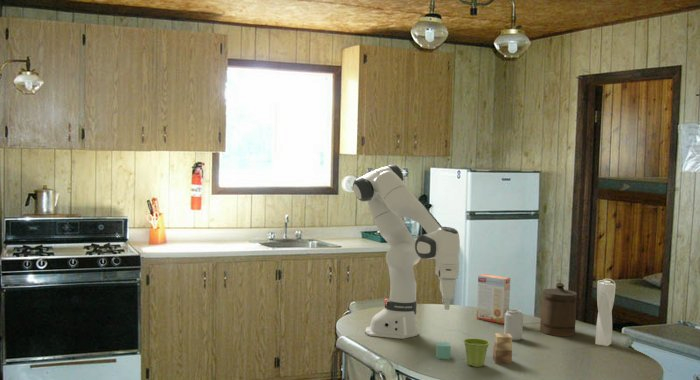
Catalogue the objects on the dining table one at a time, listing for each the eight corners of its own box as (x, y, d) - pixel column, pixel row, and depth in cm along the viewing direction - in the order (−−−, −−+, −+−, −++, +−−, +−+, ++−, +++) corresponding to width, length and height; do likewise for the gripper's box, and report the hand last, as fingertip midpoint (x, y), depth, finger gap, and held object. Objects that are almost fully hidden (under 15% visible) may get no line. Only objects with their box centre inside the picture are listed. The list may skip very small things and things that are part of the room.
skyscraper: (610, 347, 301) (613, 279, 299) (591, 344, 305) (595, 277, 303) (614, 343, 308) (618, 277, 306) (596, 340, 312) (600, 275, 310)
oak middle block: (496, 350, 273) (497, 336, 272) (494, 346, 278) (495, 333, 278) (511, 350, 272) (512, 337, 272) (509, 346, 278) (509, 333, 277)
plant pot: (459, 360, 274) (460, 337, 274) (484, 361, 275) (485, 338, 275) (465, 368, 265) (467, 344, 264) (491, 368, 266) (492, 345, 265)
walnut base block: (495, 363, 273) (495, 350, 272) (492, 358, 279) (493, 345, 278) (511, 364, 272) (512, 350, 272) (508, 359, 278) (509, 346, 278)
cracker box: (509, 322, 340) (511, 277, 339) (502, 324, 335) (504, 279, 334) (482, 317, 349) (484, 273, 348) (475, 318, 344) (477, 274, 343)
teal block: (436, 358, 276) (437, 345, 276) (435, 355, 281) (436, 342, 281) (450, 359, 276) (450, 346, 276) (448, 355, 281) (449, 342, 281)
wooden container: (580, 332, 324) (583, 283, 323) (565, 338, 313) (568, 287, 312) (549, 326, 334) (552, 278, 333) (533, 331, 323) (536, 282, 322)
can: (522, 341, 306) (523, 313, 305) (503, 340, 307) (505, 311, 306) (521, 337, 313) (523, 309, 312) (503, 335, 314) (505, 308, 314)
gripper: (436, 265, 287) (435, 300, 288) (440, 274, 267) (439, 312, 268) (452, 266, 287) (451, 301, 288) (458, 275, 267) (456, 312, 267)
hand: (445, 306), depth 278 cm, fingers open, 8 cm apart
